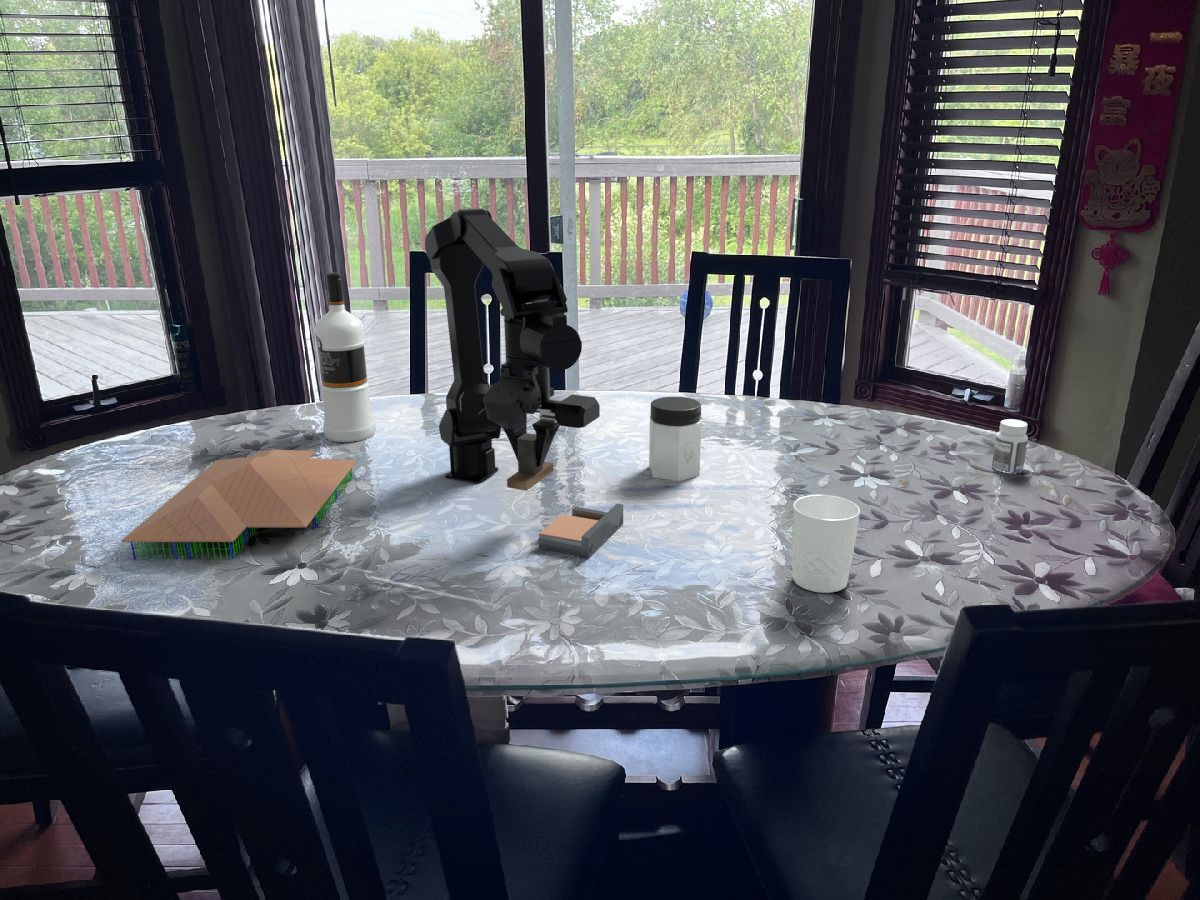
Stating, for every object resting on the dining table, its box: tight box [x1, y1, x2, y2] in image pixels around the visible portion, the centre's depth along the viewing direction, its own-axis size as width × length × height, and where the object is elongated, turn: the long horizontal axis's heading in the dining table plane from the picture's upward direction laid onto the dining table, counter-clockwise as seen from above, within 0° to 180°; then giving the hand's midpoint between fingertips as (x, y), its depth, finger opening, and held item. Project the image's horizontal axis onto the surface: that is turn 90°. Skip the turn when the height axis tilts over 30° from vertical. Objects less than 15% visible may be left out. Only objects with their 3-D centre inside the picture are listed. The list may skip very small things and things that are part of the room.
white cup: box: [791, 494, 861, 594], centre depth 109 cm, size 8×8×10 cm
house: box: [120, 449, 358, 560], centre depth 131 cm, size 23×33×8 cm
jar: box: [648, 396, 702, 482], centre depth 144 cm, size 9×8×12 cm
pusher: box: [506, 432, 554, 492], centre depth 123 cm, size 3×8×6 cm, turn 156°
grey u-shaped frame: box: [538, 503, 624, 560], centre depth 123 cm, size 8×12×3 cm, turn 156°
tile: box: [538, 513, 599, 542], centre depth 124 cm, size 7×7×2 cm
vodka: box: [314, 271, 377, 443], centre depth 159 cm, size 9×9×30 cm
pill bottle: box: [991, 418, 1029, 472], centre depth 145 cm, size 5×5×8 cm
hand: (530, 464), depth 123 cm, fingers closed on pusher, 2 cm apart
